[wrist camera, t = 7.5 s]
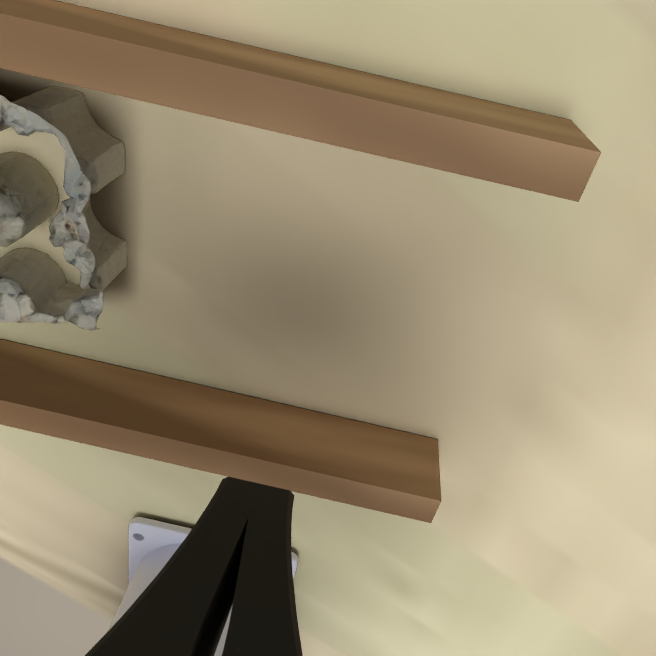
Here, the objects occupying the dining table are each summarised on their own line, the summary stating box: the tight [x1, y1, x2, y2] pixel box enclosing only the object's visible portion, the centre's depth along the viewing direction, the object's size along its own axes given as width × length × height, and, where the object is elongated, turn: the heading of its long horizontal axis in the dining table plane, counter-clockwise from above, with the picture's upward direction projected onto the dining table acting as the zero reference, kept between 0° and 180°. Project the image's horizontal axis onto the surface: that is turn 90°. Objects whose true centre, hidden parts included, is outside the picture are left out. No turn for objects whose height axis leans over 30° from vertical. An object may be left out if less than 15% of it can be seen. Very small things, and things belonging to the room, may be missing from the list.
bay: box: [0, 0, 601, 523], centre depth 18 cm, size 13×25×4 cm, turn 79°
